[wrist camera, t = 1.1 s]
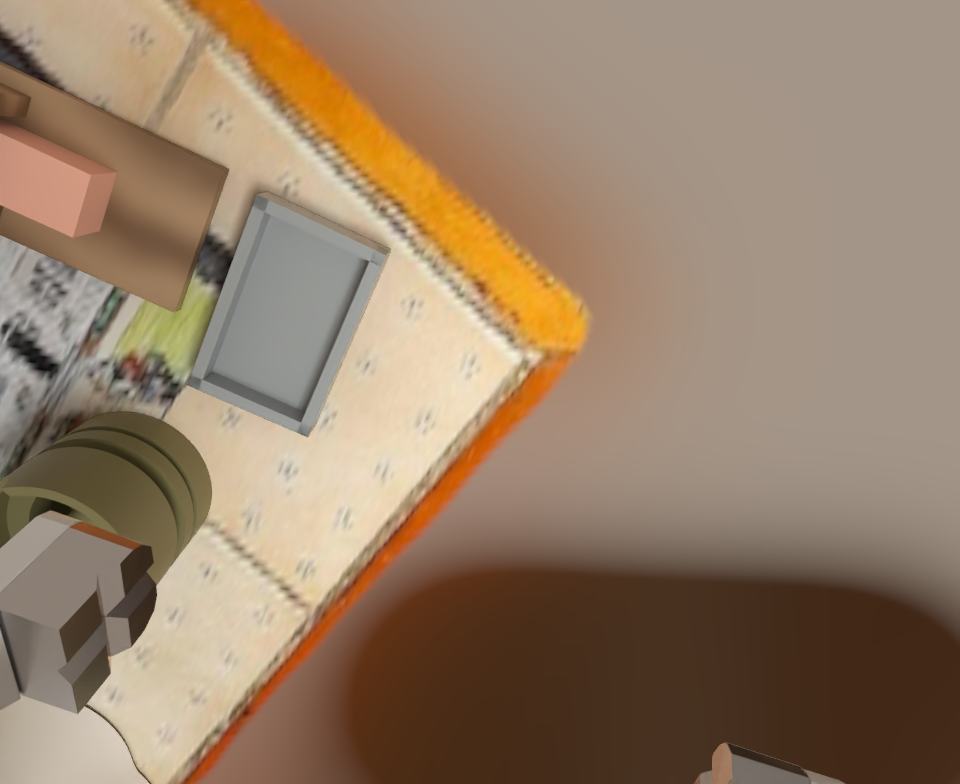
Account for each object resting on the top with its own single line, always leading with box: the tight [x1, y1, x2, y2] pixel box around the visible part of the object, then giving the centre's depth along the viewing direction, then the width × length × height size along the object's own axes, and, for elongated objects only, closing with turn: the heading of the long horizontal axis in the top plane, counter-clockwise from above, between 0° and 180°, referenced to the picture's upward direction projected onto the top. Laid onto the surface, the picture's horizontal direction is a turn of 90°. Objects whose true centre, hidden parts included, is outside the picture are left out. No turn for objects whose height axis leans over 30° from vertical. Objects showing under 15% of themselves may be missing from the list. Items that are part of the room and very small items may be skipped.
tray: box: [187, 192, 391, 437], centre depth 49 cm, size 14×9×2 cm, turn 155°
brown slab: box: [0, 61, 229, 312], centre depth 45 cm, size 10×22×6 cm, turn 65°
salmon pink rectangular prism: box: [0, 118, 117, 238], centre depth 45 cm, size 4×10×3 cm, turn 65°
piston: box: [0, 412, 212, 585], centre depth 49 cm, size 11×12×11 cm
